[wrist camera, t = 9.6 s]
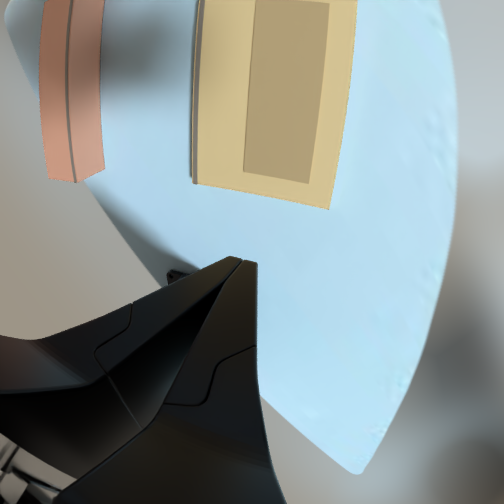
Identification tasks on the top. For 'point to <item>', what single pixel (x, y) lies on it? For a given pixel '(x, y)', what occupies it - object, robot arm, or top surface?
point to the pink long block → (71, 88)
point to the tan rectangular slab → (271, 96)
